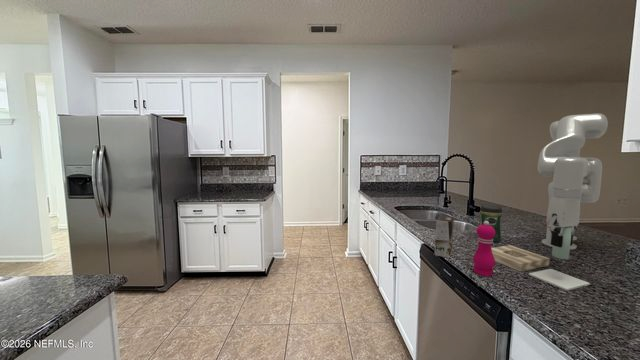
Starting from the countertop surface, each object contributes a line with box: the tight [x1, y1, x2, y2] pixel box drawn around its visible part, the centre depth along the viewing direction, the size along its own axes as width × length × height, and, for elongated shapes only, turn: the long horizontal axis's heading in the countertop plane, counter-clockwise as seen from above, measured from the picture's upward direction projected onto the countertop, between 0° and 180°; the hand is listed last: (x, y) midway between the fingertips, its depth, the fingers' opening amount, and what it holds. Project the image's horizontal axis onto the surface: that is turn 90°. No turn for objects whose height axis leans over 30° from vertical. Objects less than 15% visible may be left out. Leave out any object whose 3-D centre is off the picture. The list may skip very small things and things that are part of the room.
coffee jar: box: [479, 203, 503, 243], centre depth 137 cm, size 10×8×19 cm
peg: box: [551, 225, 572, 260], centre depth 94 cm, size 4×4×11 cm
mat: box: [528, 268, 591, 292], centre depth 96 cm, size 12×12×1 cm
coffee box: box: [434, 215, 455, 259], centre depth 120 cm, size 9×6×16 cm
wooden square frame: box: [491, 244, 550, 272], centre depth 112 cm, size 16×16×3 cm
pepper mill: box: [472, 221, 496, 277], centre depth 101 cm, size 7×7×20 cm
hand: (561, 244), depth 94 cm, fingers closed on peg, 4 cm apart
